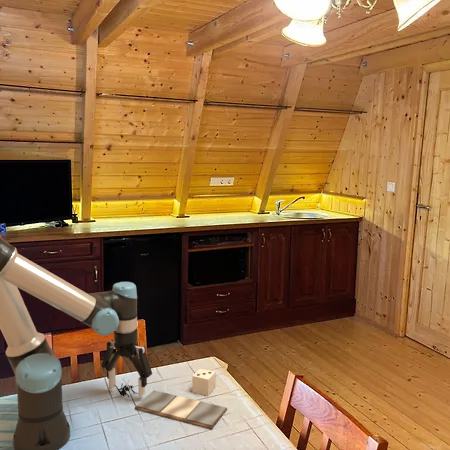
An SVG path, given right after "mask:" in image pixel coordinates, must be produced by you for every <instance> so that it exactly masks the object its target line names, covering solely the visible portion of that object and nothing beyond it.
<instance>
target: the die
mask: <svg viewBox="0 0 450 450" xmlns="http://www.w3.org/2000/svg"><path fill="white" fill-rule="evenodd" d="M216 377H217V374H216V371H215V370H208V369H204V368H203V369H202V368H199V369H198V370H197V371H196V372H195V373H193V375H192V378H191V379H192V380H191V381H192V383H191V384H192V390H191V391H192V393H194V394H197V395H202V396H205V397H206V396H207V397H209V396H210V395H211V394H212V393H213V391H214V390H215V389H216V382H217V381H216Z"/></svg>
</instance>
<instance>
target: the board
mask: <svg viewBox="0 0 450 450" xmlns="http://www.w3.org/2000/svg"><path fill="white" fill-rule="evenodd" d="M134 410H136V411H139V412H143V413H147V414H150V415H154V416H157V417H158V416H159V417H163V418H165V419H166V418H167V419H170V420H174V421H176V422H177V421H178V422H181V423H184V424H189V425H193V426H196V427H200V428H204V429H208V430H213V429H214V427H215V426H216V425H217V424H218V422H219V421H220V420H221V419H222V417H223V416H224V414H225V413H226V412H227V411H228V407H225V406H221V405H217V404H213V403H209V402H205V401H201V400H197V399H193V398H188V397H185V396H180V395H176V394H173V393H167V392H164V391H161V390H155V389H154V390H152V391H151V392H150V393H149V394H148V395H147V396H146V397H145V398H143V399H142V400H141V401H140V402H138V403H137V405H136V406H134Z"/></svg>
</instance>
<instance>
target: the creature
mask: <svg viewBox="0 0 450 450" xmlns="http://www.w3.org/2000/svg"><path fill="white" fill-rule="evenodd" d="M129 381H130V380H128V382H127V383H126V385H124V383H121V387H120V388H119V387H118V386H117V384H116V385H114V386H115V388H116V389H117V391H118V393H119V395H120V397H123V398H124V397H125V396H127V398H130V396H133V394H135V395H136V394H137V395H139V392H136V391H135V390H134V388H135V387H134V386H133V384H132V385H129ZM130 390H131V392H132V394H131V393H130V396H129V394H128V393H127V392H130Z"/></svg>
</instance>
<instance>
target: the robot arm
mask: <svg viewBox="0 0 450 450" xmlns="http://www.w3.org/2000/svg"><path fill="white" fill-rule="evenodd" d="M19 289H20V290H22V291H24V292H25V293H27V294H29V295H31V296H33V297H35V298H37V299H39V300H40V301H42V302H45V303H46V304H48V305H50V306H51V307H54V308H55V309H58V310H60V311H61V312H63V313H64V314H67V315H68V316H69V317H72V318H74V319H76V320H78V321H80V322H81V323H82V324H85V325H87V326H89V327H90V328H91V329H92V330H93V332H95V333H96V334H97V335H100V336H104V337H105V336H106V337H107V336H110V335H111V334H113V339H110V340H109V341H107V342H106V350H105V352H104V356H103V359H102V363H101V368H103V369H105V371H106V378H107V379H108V390H110V391H111V390H113V389H114V388H116V386H117V384H116V383H117V382H116V367H115V365H116V364H117V362H118V360H119V359H120V357H124V358H126V359H129V361H130V362H132V365H133V366H134V368H135V369H136V372H137V373H138V375H139V377H138V381H137V383H138V386H137V387H138V398H141V397H143V396H144V395H145V394H146V387H147V384H148V382H147V381H148V378H149V377H151V376H152V375H153V371H152V369H151V365H150V362H149V358H148V355H147V349H146V346H145V345H143V346H139V345H138V342H137V341H138V329H137V328H138V307H137V306H138V293H137V286H136V284H135V283H134V282H131V281H120V282H116V283H114V284H113V285H112V290H108V291H101V292H92V293H91V292H90V293H87V292H85V291H84V290H81V288H78V287H76V285H75V286H74V285H73V284H71V283H69V282H68V281H67V280H64V279H63V278H61V277H59V276H58V275H56V274H54V273H52V272H50V271H49V270H47V269H46V268H44V267H42V266H40V265H38V263H35V262H33V261H32V260H29V259H28V258H27V257H25V256H23V255H21V254H19V252H18V250H17V248H16V247H15V246H14V245H12V244H10V243H9V242H7V241H6V240H5V239H4V238H3V237H2V236H1V234H0V331H1V333H2V335H3V337H4V340H5V342H6V344H7V347H6V350H5V355H6V357H7V359H8V362H9V364H10V366H11V368H12V371H13V373H14V378H15V387H16V394H17V408H18V410H17V411H18V419H17V423H16V427H15V431H14V433H13V437H12V441H13V442H12V445H13V450H59V449H61V448H62V447H63V446H65V445H66V444H67V443H68V441H69V440H70V438H71V426H70V424H69V421H68V419H67V416H66V414H65V412H64V403H63V385H62V384H63V383H62V382H63V381H62V374H63V369H62V365H61V364H62V363H61V361H60V359H59V358H58V357H56V356H55V353H54V351H53V348H52V347H50V344H49V343H48V342H49V341H48V340H47V338H46V336H45V334H44V333H41V332H38V331H37V329H36V326H35V325H34V322H33V320H32V317H31V315H30V312H29V311H28V308H27V306H26V305H25V302H24V299H23V297H22V295H21V293H20V290H19ZM114 348H115V352H114ZM113 352H114V354H113ZM112 355H113V357H112ZM114 385H116V386H114Z"/></svg>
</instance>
